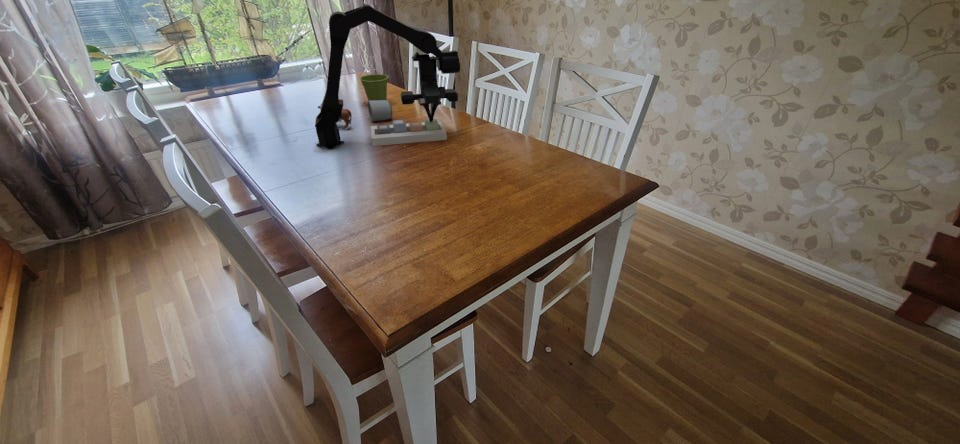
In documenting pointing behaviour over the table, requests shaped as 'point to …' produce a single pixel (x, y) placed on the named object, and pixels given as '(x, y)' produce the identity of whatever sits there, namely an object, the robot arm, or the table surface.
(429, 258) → the table surface
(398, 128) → the key slate
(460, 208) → the table surface
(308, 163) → the table surface
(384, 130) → the key charcoal
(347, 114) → the bull figurine
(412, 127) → the key terracotta
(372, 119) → the ceramic mug
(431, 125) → the key sage
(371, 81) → the plant pot
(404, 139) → the keypad
